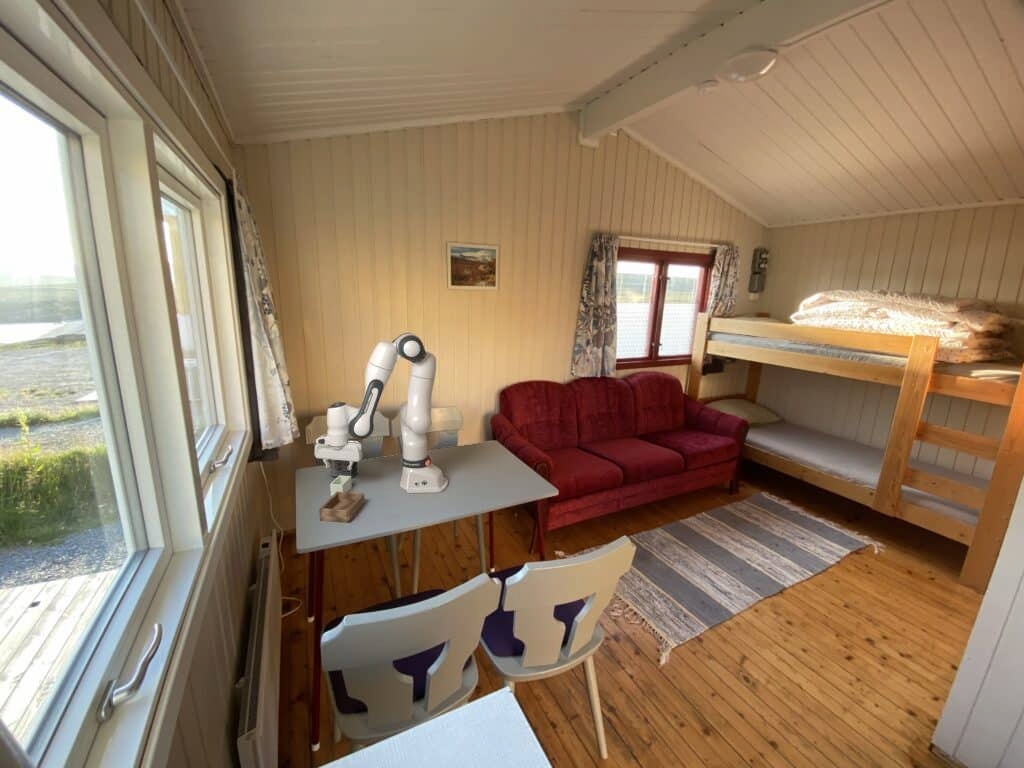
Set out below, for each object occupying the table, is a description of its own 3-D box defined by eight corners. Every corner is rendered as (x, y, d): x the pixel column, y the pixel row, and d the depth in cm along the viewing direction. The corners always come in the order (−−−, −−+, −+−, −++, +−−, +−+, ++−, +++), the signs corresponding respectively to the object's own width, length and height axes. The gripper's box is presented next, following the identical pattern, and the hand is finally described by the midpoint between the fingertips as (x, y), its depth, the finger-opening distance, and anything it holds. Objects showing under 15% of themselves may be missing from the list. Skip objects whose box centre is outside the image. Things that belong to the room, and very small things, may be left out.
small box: (358, 473, 212) (357, 453, 210) (352, 479, 206) (351, 458, 204) (337, 471, 213) (336, 451, 211) (331, 477, 207) (330, 457, 204)
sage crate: (351, 488, 197) (351, 476, 196) (343, 497, 188) (342, 485, 187) (340, 487, 197) (339, 475, 196) (330, 496, 188) (330, 484, 187)
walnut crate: (364, 504, 184) (364, 493, 183) (349, 523, 169) (349, 511, 168) (337, 502, 184) (336, 491, 183) (320, 520, 170) (319, 509, 169)
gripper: (364, 438, 189) (364, 467, 192) (319, 434, 190) (320, 463, 193) (358, 443, 183) (359, 473, 186) (312, 439, 184) (313, 469, 187)
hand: (338, 468), depth 190 cm, fingers open, 8 cm apart
